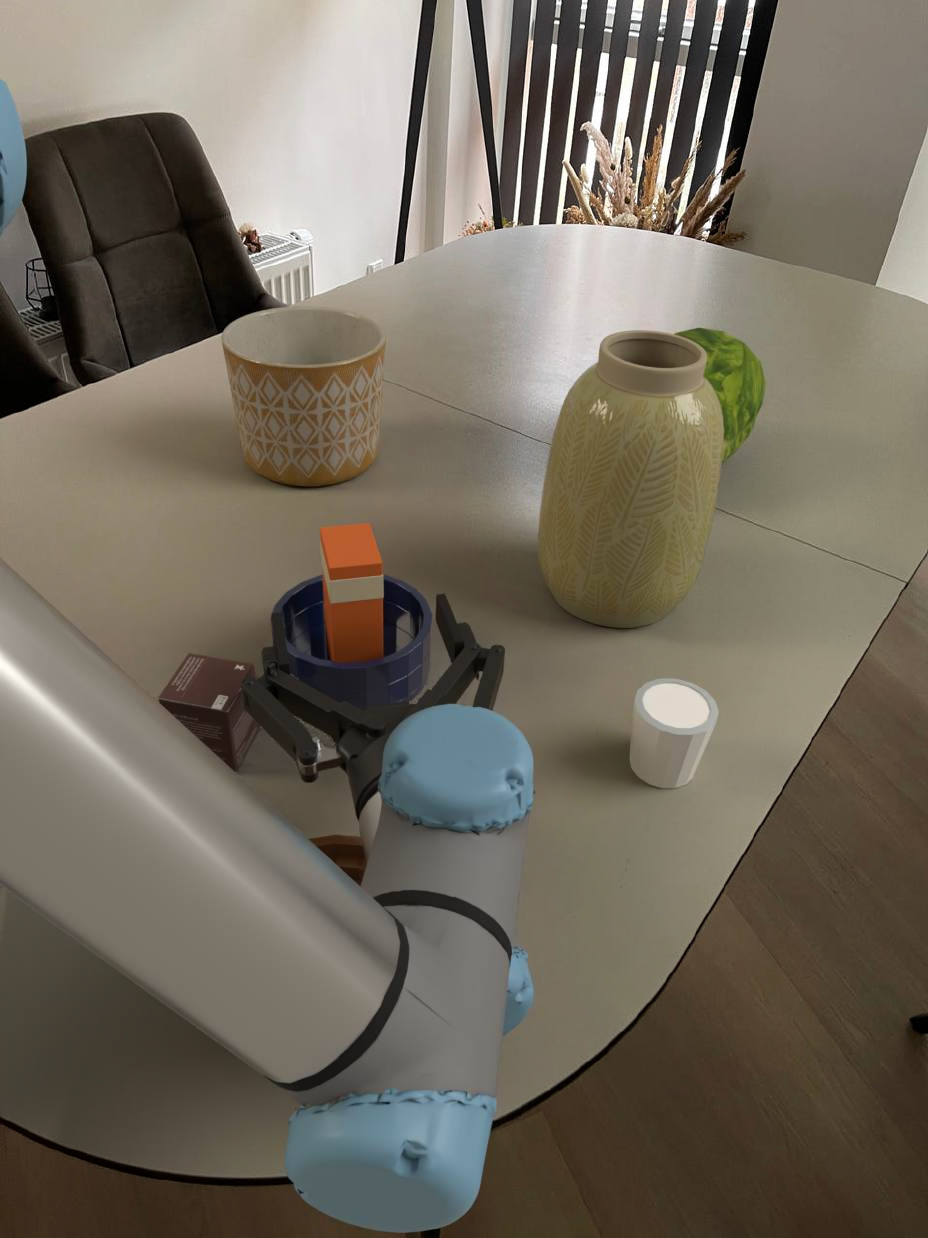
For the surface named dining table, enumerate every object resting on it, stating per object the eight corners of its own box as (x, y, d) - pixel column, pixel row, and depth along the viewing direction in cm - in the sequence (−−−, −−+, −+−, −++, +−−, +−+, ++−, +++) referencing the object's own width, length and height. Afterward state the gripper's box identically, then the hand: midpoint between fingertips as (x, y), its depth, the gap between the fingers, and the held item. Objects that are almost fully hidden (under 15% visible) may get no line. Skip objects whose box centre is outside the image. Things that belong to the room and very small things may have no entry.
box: (199, 714, 84) (188, 650, 80) (263, 726, 83) (256, 662, 79) (168, 763, 79) (155, 698, 75) (236, 776, 79) (227, 711, 74)
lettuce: (640, 545, 121) (565, 447, 115) (688, 442, 136) (623, 351, 130) (755, 502, 110) (679, 391, 104) (794, 395, 124) (729, 292, 118)
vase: (661, 543, 110) (708, 313, 94) (717, 634, 97) (783, 385, 80) (516, 551, 107) (538, 316, 91) (553, 647, 94) (587, 391, 78)
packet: (334, 685, 87) (328, 568, 79) (325, 641, 92) (318, 526, 84) (384, 679, 88) (383, 562, 80) (372, 635, 93) (370, 522, 85)
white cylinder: (703, 800, 79) (720, 740, 74) (620, 787, 80) (633, 726, 75) (701, 742, 84) (717, 683, 80) (624, 730, 85) (636, 671, 81)
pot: (283, 729, 83) (278, 678, 79) (269, 628, 94) (264, 578, 91) (445, 707, 86) (448, 657, 83) (413, 611, 98) (414, 563, 94)
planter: (256, 507, 112) (243, 375, 102) (220, 437, 126) (205, 314, 116) (408, 480, 119) (409, 354, 109) (358, 416, 133) (355, 299, 123)
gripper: (225, 878, 62) (211, 670, 78) (584, 815, 67) (501, 633, 84) (212, 800, 57) (199, 596, 73) (598, 740, 63) (507, 563, 79)
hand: (360, 615), depth 79 cm, fingers open, 13 cm apart
